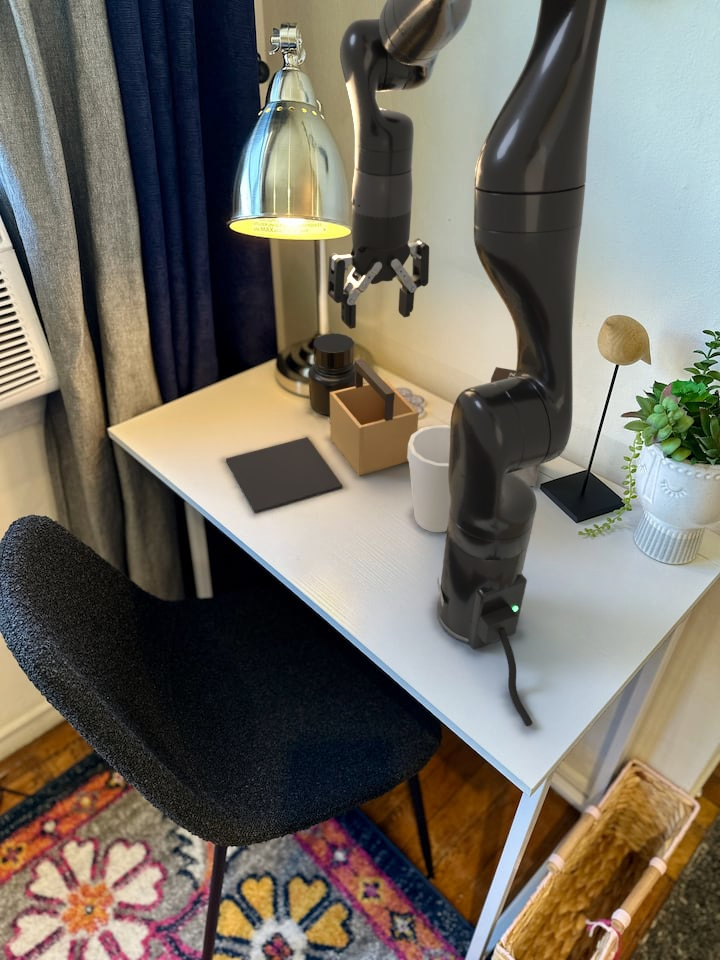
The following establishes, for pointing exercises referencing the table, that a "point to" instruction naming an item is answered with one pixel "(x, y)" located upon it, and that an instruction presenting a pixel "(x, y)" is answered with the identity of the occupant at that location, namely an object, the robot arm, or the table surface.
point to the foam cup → (430, 476)
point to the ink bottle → (330, 369)
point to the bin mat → (282, 474)
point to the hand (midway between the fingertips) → (377, 320)
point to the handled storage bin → (371, 422)
